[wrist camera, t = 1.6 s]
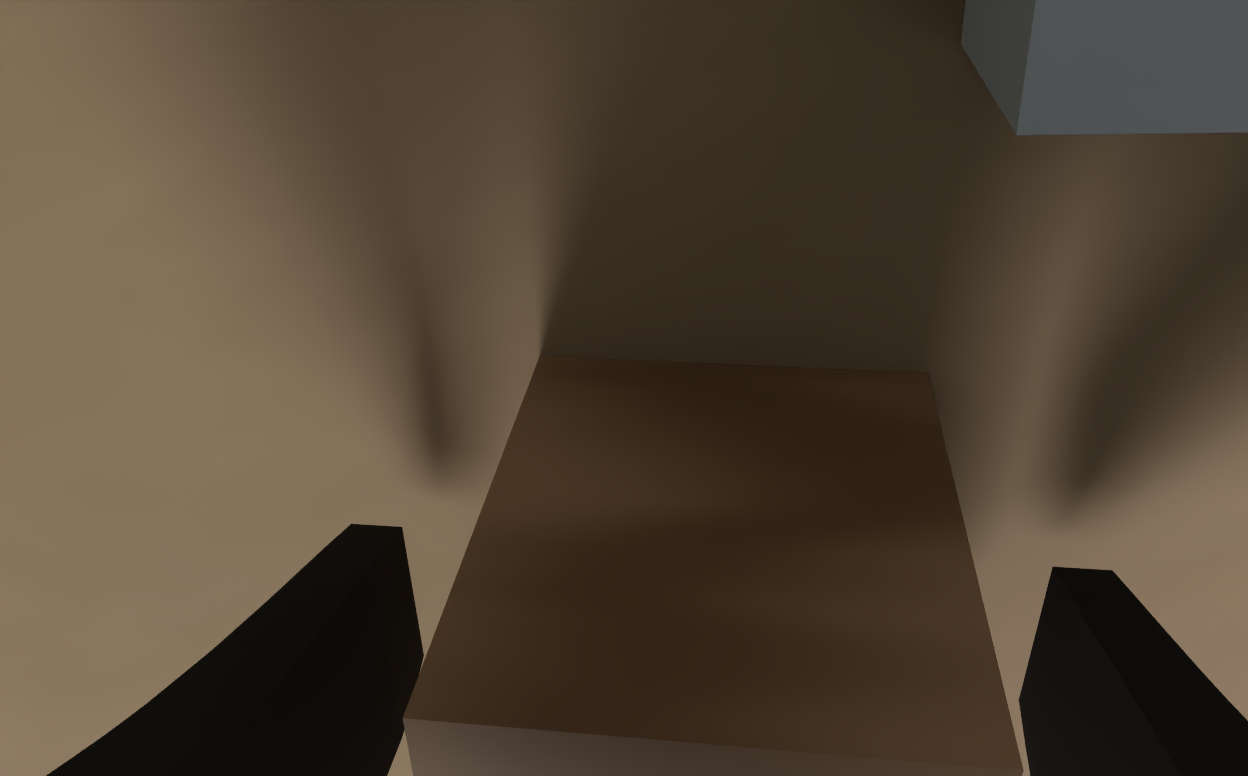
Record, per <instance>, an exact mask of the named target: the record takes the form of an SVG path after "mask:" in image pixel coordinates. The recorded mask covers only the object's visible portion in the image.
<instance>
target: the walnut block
mask: <svg viewBox="0 0 1248 776" xmlns="http://www.w3.org/2000/svg"><path fill="white" fill-rule="evenodd" d="M403 723H404V728H405V734H406V739H407V744H408V749H409V755H410V760H411V765H412V770H413V775H414V776H1022V774H1023V767H1022V763H1021V758H1020V754H1019V750H1018V746H1017V742H1016V738H1015V733H1014V729H1013V725H1012V721H1011V717H1010V713H1009V708H1008V704H1007V700H1006V696H1005V692H1004V688H1003V683H1002V679H1001V675H1000V671H999V667H998V663H997V659H996V654H995V650H994V646H993V642H992V638H991V634H990V629H989V625H988V621H987V617H986V613H985V609H984V604H983V600H982V596H981V592H980V588H979V584H978V579H977V575H976V571H975V567H974V563H973V559H972V554H971V550H970V546H969V542H968V538H967V534H966V529H965V525H964V521H963V517H962V513H961V509H960V504H959V500H958V496H957V492H956V488H955V484H954V479H953V475H952V471H951V467H950V463H949V459H948V454H947V450H946V446H945V442H944V438H943V434H942V429H941V425H940V421H939V417H938V413H937V409H936V405H935V400H934V396H933V392H932V388H931V384H930V380H929V375H928V373H915V372H892V371H868V370H845V369H822V368H799V367H776V366H753V365H729V364H706V363H683V362H660V361H637V360H614V359H590V358H567V357H544V356H540V357H539V360H538V362H537V365H536V367H535V370H534V373H533V375H532V378H531V381H530V383H529V386H528V389H527V391H526V394H525V396H524V399H523V402H522V404H521V407H520V410H519V412H518V415H517V418H516V420H515V423H514V426H513V428H512V431H511V433H510V436H509V439H508V441H507V444H506V447H505V449H504V452H503V455H502V457H501V460H500V462H499V465H498V468H497V470H496V473H495V476H494V478H493V481H492V484H491V486H490V489H489V491H488V494H487V497H486V499H485V502H484V505H483V507H482V510H481V513H480V515H479V518H478V521H477V523H476V526H475V528H474V531H473V534H472V536H471V539H470V542H469V544H468V547H467V550H466V552H465V555H464V557H463V560H462V563H461V565H460V568H459V571H458V573H457V576H456V579H455V581H454V584H453V587H452V589H451V592H450V594H449V597H448V600H447V602H446V605H445V608H444V610H443V613H442V616H441V618H440V621H439V623H438V626H437V629H436V631H435V634H434V637H433V639H432V642H431V645H430V647H429V650H428V652H427V655H426V658H425V660H424V663H423V666H422V668H421V671H420V674H419V676H418V679H417V682H416V684H415V687H414V689H413V692H412V695H411V697H410V700H409V703H408V705H407V708H406V711H405V713H404V716H403Z"/></svg>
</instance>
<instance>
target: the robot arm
mask: <svg viewBox="0 0 1248 776" xmlns="http://www.w3.org/2000/svg"><path fill="white" fill-rule="evenodd" d="M423 656H424V654H423V648H422V642H421V636H420V630H419V624H418V618H417V613H416V607H415V601H414V595H413V589H412V583H411V577H410V571H409V565H408V560H407V554H406V548H405V542H404V536H403V530H402V527H392V526H376V525H359V524H351V525H350V526H348V527H347V528H346V529H345V530H344V531H343V532H342V533H341V534H340V535H338V536H337V537H336V538H335V539H334V540H333V541H332V542H330V543H329V544H328V545H327V546H326V547H325V548H324V549H323V550H322V551H321V552H320V553H318V554H317V555H316V556H315V557H314V558H313V559H312V560H311V561H310V562H309V563H308V564H307V565H305V566H304V567H303V568H302V569H301V570H300V571H299V572H298V573H297V574H296V575H295V576H294V577H293V578H292V579H290V580H289V581H288V582H287V583H286V584H285V585H284V586H283V587H282V588H281V589H280V590H278V591H277V592H276V593H275V594H274V595H273V596H272V597H271V598H270V599H269V600H268V601H267V602H265V603H264V604H263V605H262V606H261V607H260V608H259V609H258V610H257V611H255V612H254V613H253V614H252V615H251V616H250V617H249V618H248V619H246V620H245V621H244V622H243V623H242V624H241V625H240V626H239V627H237V628H236V629H235V630H234V631H233V632H232V633H231V634H230V635H228V636H227V637H226V638H225V639H224V640H223V641H222V642H221V643H219V644H218V645H217V646H216V647H215V648H214V649H213V650H211V651H210V652H209V653H208V654H207V655H206V656H204V657H203V658H202V659H201V660H199V661H198V662H197V663H196V664H195V665H193V666H192V667H191V668H190V669H188V670H187V671H186V672H185V673H184V674H182V675H181V676H180V677H179V678H177V679H176V680H175V681H174V682H173V683H171V684H170V685H169V686H168V687H166V688H165V689H164V690H163V691H161V692H160V693H159V694H158V695H157V696H155V697H154V698H153V699H152V700H150V701H149V702H148V703H147V704H146V705H144V706H143V707H142V708H140V709H139V710H138V711H136V712H135V713H134V714H132V715H131V716H130V717H128V718H127V719H126V720H125V721H123V722H122V723H120V724H119V725H118V726H116V727H115V728H114V729H112V730H111V731H110V732H108V733H107V734H105V735H104V736H103V737H101V738H100V739H98V740H97V741H96V742H94V743H93V744H91V745H90V746H88V747H87V748H86V749H84V750H83V751H81V752H80V753H78V754H77V755H75V756H74V757H73V758H71V759H70V760H68V761H67V762H65V763H64V764H63V765H61V766H60V767H58V768H57V769H55V770H54V771H52V772H51V773H49V774H48V775H46V776H387V774H388V772H389V769H390V767H391V764H392V762H393V759H394V757H395V754H396V752H397V749H398V747H399V744H400V741H401V739H402V736H403V732H404V729H405V728H404V723H403V716H404V713H405V711H406V708H407V705H408V703H409V700H410V697H411V695H412V692H413V689H414V687H415V684H416V682H417V679H418V676H419V672H420V668H421V664H422V660H423ZM1019 704H1020V711H1021V718H1022V724H1023V731H1024V738H1025V745H1026V751H1027V757H1028V763H1029V769H1030V775H1031V776H1248V721H1247V720H1246V719H1245V718H1244V716H1243V715H1242V714H1241V713H1240V712H1239V711H1238V710H1237V709H1236V708H1235V707H1234V706H1233V705H1232V704H1231V703H1230V702H1229V701H1228V700H1227V698H1226V697H1225V696H1224V695H1223V694H1222V693H1221V692H1220V691H1219V690H1218V689H1217V688H1216V687H1215V686H1214V684H1213V683H1212V682H1211V681H1210V680H1209V679H1208V678H1207V677H1206V676H1205V675H1204V673H1203V672H1202V671H1201V670H1200V669H1199V668H1198V667H1197V666H1196V665H1195V663H1194V662H1193V661H1192V660H1191V659H1190V658H1189V657H1188V656H1187V654H1186V653H1185V652H1184V651H1183V650H1182V649H1181V648H1180V647H1179V645H1178V644H1177V643H1176V642H1175V641H1174V640H1173V639H1172V637H1171V636H1170V635H1169V634H1168V633H1167V632H1166V631H1165V630H1164V628H1163V627H1162V626H1161V625H1160V624H1159V623H1158V622H1157V620H1156V619H1155V618H1154V617H1153V616H1152V615H1151V614H1150V612H1149V611H1148V610H1147V609H1146V608H1145V607H1144V606H1143V604H1142V603H1141V602H1140V601H1139V600H1138V599H1137V598H1136V597H1135V595H1134V594H1133V593H1132V592H1131V591H1130V590H1129V589H1128V588H1127V586H1126V585H1125V584H1124V583H1123V582H1122V581H1121V580H1120V579H1119V577H1118V576H1117V575H1116V574H1115V573H1114V572H1113V571H1112V570H1097V569H1080V568H1064V567H1053V568H1052V572H1051V576H1050V580H1049V584H1048V587H1047V591H1046V595H1045V599H1044V603H1043V607H1042V611H1041V615H1040V619H1039V623H1038V627H1037V631H1036V635H1035V639H1034V643H1033V647H1032V650H1031V654H1030V658H1029V662H1028V666H1027V670H1026V674H1025V678H1024V682H1023V686H1022V690H1021V694H1020V698H1019Z"/></svg>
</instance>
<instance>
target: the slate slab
mask: <svg viewBox="0 0 1248 776" xmlns="http://www.w3.org/2000/svg"><path fill="white" fill-rule="evenodd" d="M961 45H962V47H963V49H964V50H965V52H966V54H967V55H968V57H969V59H970V60H971V62H972V64H973V65H974V67H975V68H976V70H977V72H978V73H979V75H980V77H981V78H982V80H983V82H984V83H985V85H986V87H987V88H988V90H989V91H990V93H991V95H992V96H993V98H994V100H995V101H996V103H997V105H998V106H999V108H1000V110H1001V111H1002V113H1003V114H1004V116H1005V118H1006V119H1007V121H1008V123H1009V124H1010V126H1011V128H1012V129H1013V131H1014V133H1015V134H1016V135H1086V134H1167V133H1247V132H1248V0H966V2H965V11H964V20H963V29H962V38H961Z"/></svg>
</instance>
